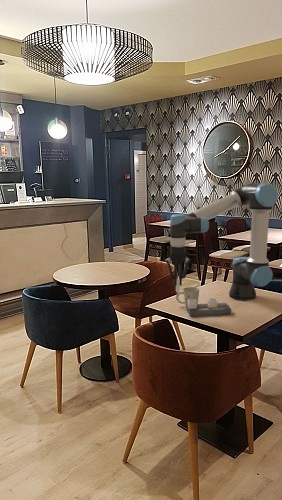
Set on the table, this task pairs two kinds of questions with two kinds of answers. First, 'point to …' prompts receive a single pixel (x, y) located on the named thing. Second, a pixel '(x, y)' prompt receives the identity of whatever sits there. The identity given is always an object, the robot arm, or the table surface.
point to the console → (209, 310)
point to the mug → (189, 294)
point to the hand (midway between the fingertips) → (177, 291)
